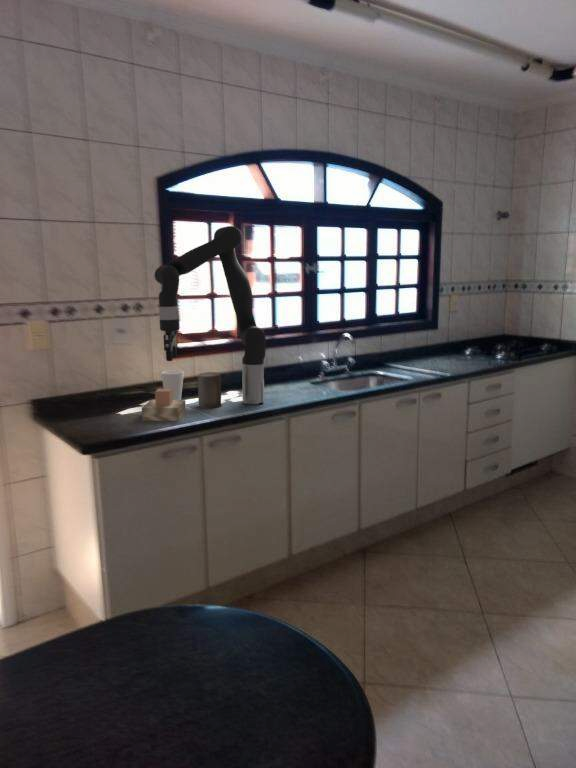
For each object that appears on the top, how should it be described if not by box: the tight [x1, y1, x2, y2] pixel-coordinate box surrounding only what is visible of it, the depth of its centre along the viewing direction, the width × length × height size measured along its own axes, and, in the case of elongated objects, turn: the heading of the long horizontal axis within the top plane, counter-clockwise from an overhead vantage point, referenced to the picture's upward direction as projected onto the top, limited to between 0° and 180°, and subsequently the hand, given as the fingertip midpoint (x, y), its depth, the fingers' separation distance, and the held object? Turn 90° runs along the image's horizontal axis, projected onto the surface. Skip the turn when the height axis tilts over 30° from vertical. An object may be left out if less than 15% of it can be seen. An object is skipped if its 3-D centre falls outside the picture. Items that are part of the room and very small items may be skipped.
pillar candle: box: [197, 370, 222, 409], centre depth 242 cm, size 10×10×15 cm
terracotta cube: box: [154, 388, 173, 405], centre depth 224 cm, size 6×6×6 cm
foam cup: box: [160, 369, 185, 400], centre depth 250 cm, size 10×9×13 cm
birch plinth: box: [141, 399, 187, 422], centre depth 225 cm, size 14×14×5 cm
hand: (171, 359), depth 226 cm, fingers open, 8 cm apart
